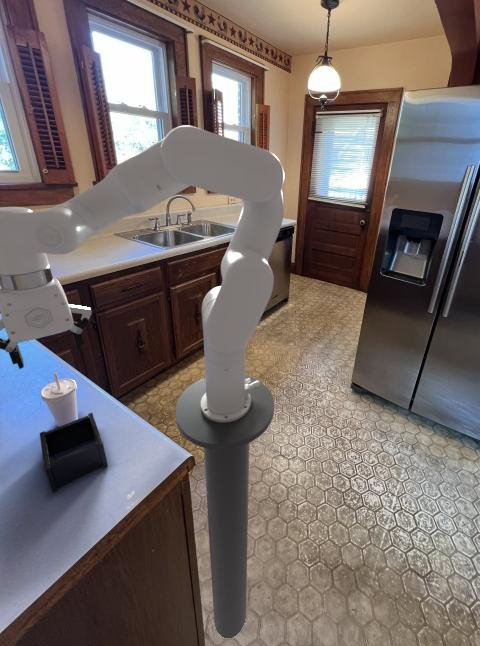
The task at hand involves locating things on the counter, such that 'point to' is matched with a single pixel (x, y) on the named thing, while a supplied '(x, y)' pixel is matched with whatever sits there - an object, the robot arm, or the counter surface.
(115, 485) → the counter surface
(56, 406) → the smoothie
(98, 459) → the bottle stand
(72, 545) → the counter surface
